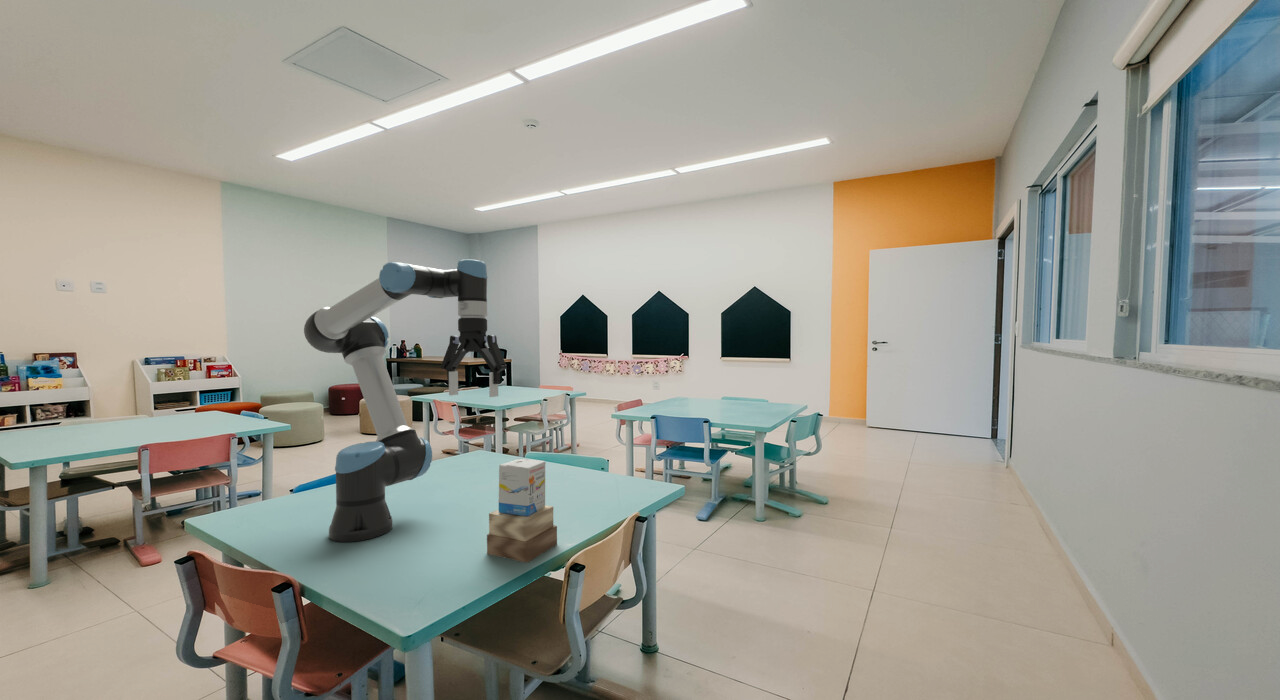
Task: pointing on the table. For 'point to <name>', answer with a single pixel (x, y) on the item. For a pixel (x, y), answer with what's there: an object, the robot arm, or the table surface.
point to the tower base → (522, 545)
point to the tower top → (520, 524)
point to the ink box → (521, 487)
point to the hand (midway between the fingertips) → (473, 395)
